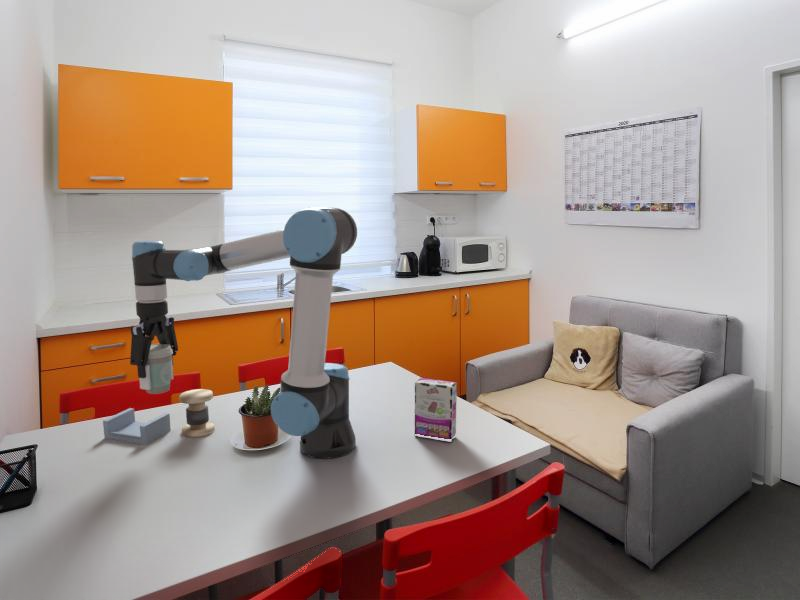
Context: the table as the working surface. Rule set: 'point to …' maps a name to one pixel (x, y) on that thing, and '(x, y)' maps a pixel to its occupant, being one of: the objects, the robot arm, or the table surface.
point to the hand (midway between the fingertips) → (157, 383)
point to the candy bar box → (435, 408)
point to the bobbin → (197, 413)
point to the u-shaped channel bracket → (135, 427)
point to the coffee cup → (159, 368)
